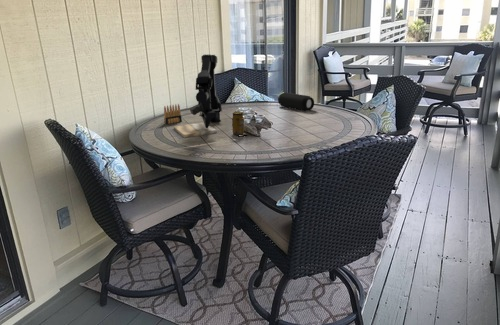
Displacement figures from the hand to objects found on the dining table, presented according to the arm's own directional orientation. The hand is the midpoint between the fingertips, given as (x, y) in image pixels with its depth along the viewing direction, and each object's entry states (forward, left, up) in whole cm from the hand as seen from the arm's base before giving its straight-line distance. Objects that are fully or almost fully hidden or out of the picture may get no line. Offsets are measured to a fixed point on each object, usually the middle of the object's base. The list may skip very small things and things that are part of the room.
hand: (206, 127), depth 220 cm
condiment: (-14, +12, -3) cm, 18 cm away
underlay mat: (+6, -5, -3) cm, 8 cm away
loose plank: (+1, -5, -2) cm, 5 cm away
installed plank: (+10, -5, -2) cm, 11 cm away
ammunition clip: (+10, -30, -3) cm, 32 cm away
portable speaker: (-74, -28, -4) cm, 79 cm away
